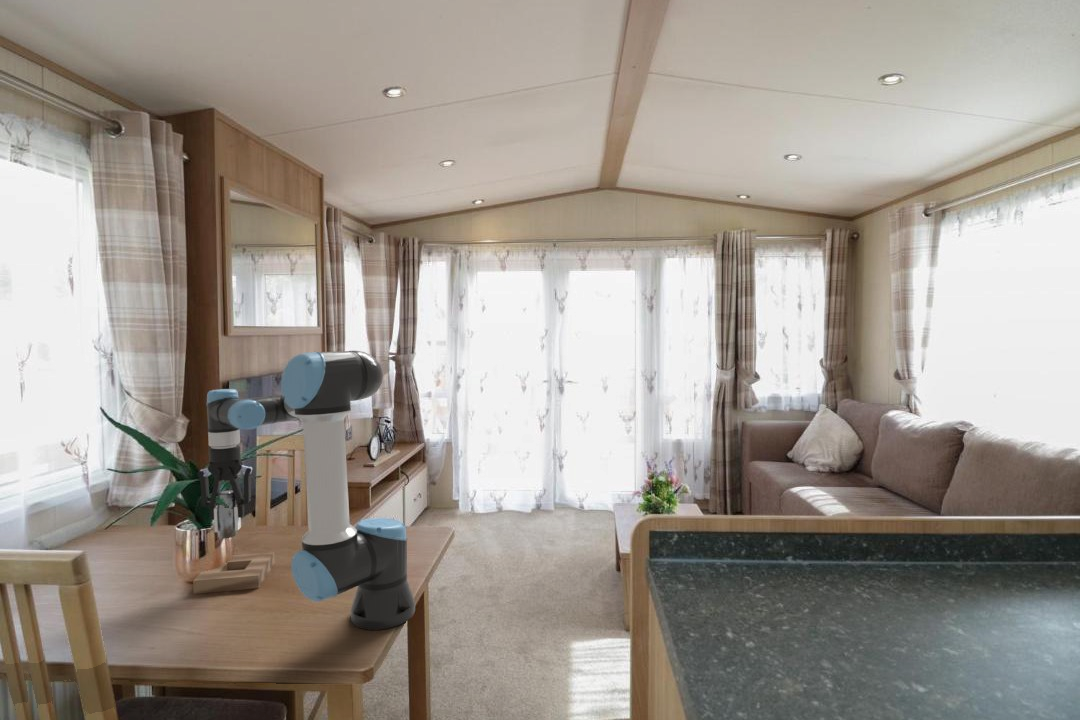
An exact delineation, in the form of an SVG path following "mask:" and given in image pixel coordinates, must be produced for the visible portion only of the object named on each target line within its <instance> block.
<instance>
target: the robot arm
mask: <svg viewBox="0 0 1080 720" xmlns="http://www.w3.org/2000/svg"><path fill="white" fill-rule="evenodd" d="M383 377H384V372H383V369H382V366H381V364H380V362H379V361H378V360H377V358H375V357H374V356H373V355H371V354H369V353H367V352H365V351H360V350H347V351H346V350H345V351H343V350H341V351H337V350H336V351H313V352H306V353H305V352H304V353H299V354H296V355H294V356H292V358H290V360H289V361H288V362H287V364H286V365H285V368H284V370H283V373H282V376H281V383H280V384H281V385H280V386H281V394H280V395H273V396H271V395H270V396H261V397H260V396H259V397H251V398H240V397H239V393H238V390H237V389H235V388H221V389H220V388H219V389H212V390H209V391H208V392H207V395H206V403H205V405H206V413H207V414H206V416H207V430H208V431H207V435H208V446H209V447H210V448H209V449H208V460H209V464H208V466H207V467H206V468H201V469H200V470H198V471H197V473H196V474H197V477H198V478H199V482H200V485H199V486H200V496H201V497H200V498H201V506H202V507H206V508H208V509H209V518H210V520H211V521H212V520H214V521H213V523H214V524H213V525H214V533H219V524H218V505H216V503H215V502H216V496H217V494H218V493H219V492H221V487H222V483H223V481H225V480H226V481H229V484H230V486H231V488H232V490H233V493H234V496H235V500H236V506H235V507H234V517H235V531H237V532H238V531H239V530H240V529H241V528H242V520H241V518H243V517H244V515H245V505H247V504H249V503H250V501H252V477H251V476H252V474H253V473H252V472H253V470H254V467H253V466H252V465H251V466H247V465H244V464H243V462H242V460H241V459H242V458H241V457H242V456H241V454H242V453H241V445H240V443H241V437H240V436H241V435H240V433H241V432H240V431H241V430H254V429H256V428H258V427H260V426H266V425H272V424H273V425H274V424H277V423H278V424H279V423H284V422H285V423H286V422H296V421H301V422H302V432H303V435H302V436H303V447H304V449H303V450H304V451H303V452H304V465H305V466H304V468H305V469H304V470H305V486H306V487H305V488H306V503H307V505H306V506H307V524H308V530H307V531H306V532H305V533H304V535H303V536H302V537H301V549H300V550H298V551H297V552H295V553H294V554H293V557H292V559H291V562H290V563H291V564H290V565H291V572H292V577H293V579H294V582H295V584H296V586H297V588H298V590H299V591H300V593H301V594H302V595H303V596H304V597H305V598H306V599H307V600H310V601H312V602H316V603H317V602H318V603H319V602H323V601H326V600H328V599H333V598H335V597H337V596H338V595H340V594H342V593H345V592H347V591H349V590H351V589H354V588H356V591H355V594H354V597H353V600H352V603H351V604H352V605H351V607H350V621H351V623H352V624H353V625H354V626H355V627H357V628H360V629H364V630H370V631H377V630H385V629H391V628H395V627H397V626H400V625H402V624H405V623H406V622H407V621H409V620H410V619H411V618H412V617H413V616H414V614H415V611H416V601H415V597H414V595H413V592H412V590H411V589H412V588H411V587H410V583H409V581H408V560H407V559H408V557H407V556H408V555H407V549H408V548H407V545H408V544H407V541H408V538H407V528H406V525H405V524H404V522H402V521H400V520H398V519H394V518H388V517H387V518H386V517H372V518H365V519H362V520H359V521H358V522H357V523H356V526H353V525H352V524H351V523H350V507H349V490H348V489H349V486H348V470H347V469H348V467H347V466H348V465H347V451H346V448H347V447H346V431H345V429H346V428H345V419H346V417H347V416H348V415H349V414H350V413H351V410H352V409H351V407H352V405H351V402H355V401H360V400H364V399H365V400H366V399H367V398H368V399H369V398H370V397H372V396H373V395H375V393H376V392H378V391H379V390H380V388H381V386H382V383H383V379H384V378H383ZM240 472H242V474H243V493H242V488H241V486H240V483H239V477H238V474H239V473H240ZM209 474H211V475H212V476H213V477H214V478H213V479H214V480H213V485H212V486H213V487H212V490H211V494H210V488H209V487H210V486H209V485H210V484H209V482H210V481H209ZM208 495H209V496H210V495H211V496H210V501H209V499H208V500H207V496H208Z"/></svg>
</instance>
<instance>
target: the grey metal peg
mask: <svg viewBox="0 0 1080 720" xmlns="http://www.w3.org/2000/svg"><path fill="white" fill-rule="evenodd" d="M217 496H218V498H221V499H222V498H223V499H224V501H225V503H226V504H227V505H228V506H229V508H224V507H223V506H222V505H219V504H217V506H218V524H219V531H218V539H231V538H234V537H236V536H237V535H238V530H237V531H235V517H234V507H235V506H236V505H237V503H236V500H235V496H234V493H233V489H232V490H223V491H220V492H219V493H218V494H217Z"/></svg>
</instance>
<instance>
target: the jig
mask: <svg viewBox="0 0 1080 720" xmlns="http://www.w3.org/2000/svg"><path fill="white" fill-rule="evenodd" d="M232 556H233V558H232V559H231V560H230V561H228V562H227V563H225V564H224V565H222V566H220V567H218V568H215V569H212V570H208V571H204V572H202V571H200V573H199V574H198V575H197V576H196V577H195V579H193V580H192V588H193V591H192V592H193V594H194V595H195V594H206V593H207V594H208V593H219V592H230V591H240V590H252V589H253V590H255V589H259V588H260V587H261V585H262V584H263V582H264V581H265V579H266V578H267V576H268V575H269V573H270V572H271V570H272V569H273V567H274V565H275V564H276V563H275V552H274V551H273V552H262V553H261V552H260V553H251V554H249V553H248V554H247V553H246V554H237V555H232Z"/></svg>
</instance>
